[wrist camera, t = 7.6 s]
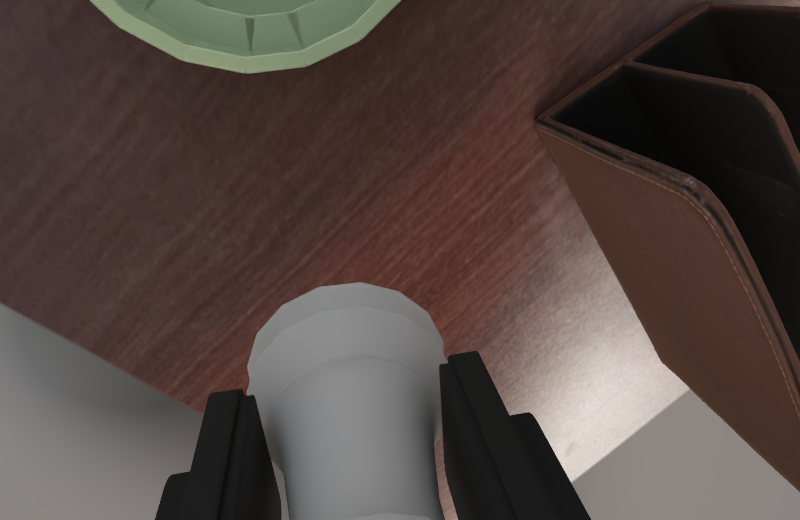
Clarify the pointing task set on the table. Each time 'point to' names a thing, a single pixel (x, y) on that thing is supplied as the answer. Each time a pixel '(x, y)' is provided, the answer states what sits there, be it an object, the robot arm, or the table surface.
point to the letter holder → (703, 206)
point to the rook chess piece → (352, 403)
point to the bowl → (248, 29)
